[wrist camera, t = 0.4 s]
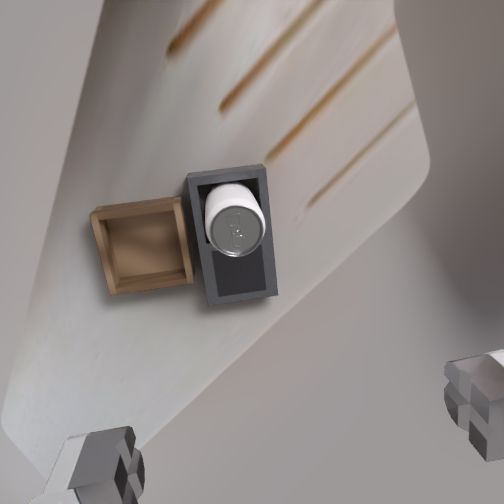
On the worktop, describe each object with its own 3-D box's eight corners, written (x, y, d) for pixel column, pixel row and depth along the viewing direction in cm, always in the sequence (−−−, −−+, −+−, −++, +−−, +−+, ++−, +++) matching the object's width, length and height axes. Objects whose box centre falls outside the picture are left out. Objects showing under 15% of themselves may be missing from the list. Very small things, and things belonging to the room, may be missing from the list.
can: (211, 233, 54) (213, 267, 43) (199, 186, 52) (198, 208, 41) (259, 222, 54) (273, 253, 43) (248, 174, 52) (261, 194, 41)
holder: (97, 206, 51) (89, 214, 48) (181, 195, 52) (179, 202, 48) (116, 282, 55) (110, 295, 51) (194, 271, 56) (194, 283, 52)
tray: (188, 173, 51) (186, 178, 48) (261, 164, 52) (265, 168, 48) (208, 294, 57) (208, 306, 54) (273, 284, 58) (278, 295, 54)
